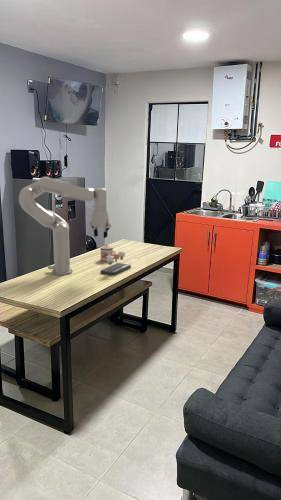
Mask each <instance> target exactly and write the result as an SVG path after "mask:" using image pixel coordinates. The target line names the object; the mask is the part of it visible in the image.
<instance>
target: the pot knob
mask: <svg viewBox="0 0 281 500" xmlns="http://www.w3.org/2000/svg"><path fill="white" fill-rule="evenodd" d="M113 256H114V262H115V263H118V260H120V257H119V254H118V252H116V253H114V252H113Z"/></svg>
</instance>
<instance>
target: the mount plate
mask: <svg viewBox="0 0 281 500" xmlns="http://www.w3.org/2000/svg"><path fill="white" fill-rule="evenodd" d="M131 266H132V265H131V264H127V263H121V262H115V264H112V265H109V266H108V267H105V268H103V269H100V274H101V275H108V276H113V277H115V276H117V275H119V274H121V273H124V272H125V271H127V270H129V269H131V268H132V267H131Z"/></svg>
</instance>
